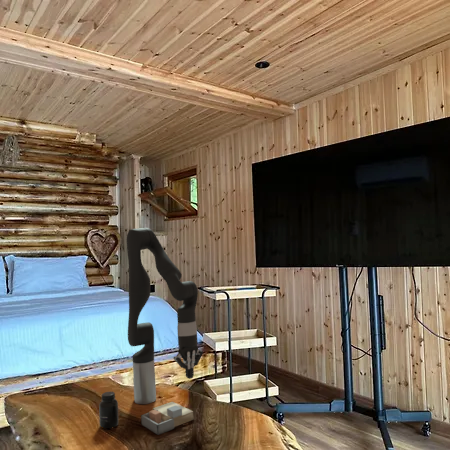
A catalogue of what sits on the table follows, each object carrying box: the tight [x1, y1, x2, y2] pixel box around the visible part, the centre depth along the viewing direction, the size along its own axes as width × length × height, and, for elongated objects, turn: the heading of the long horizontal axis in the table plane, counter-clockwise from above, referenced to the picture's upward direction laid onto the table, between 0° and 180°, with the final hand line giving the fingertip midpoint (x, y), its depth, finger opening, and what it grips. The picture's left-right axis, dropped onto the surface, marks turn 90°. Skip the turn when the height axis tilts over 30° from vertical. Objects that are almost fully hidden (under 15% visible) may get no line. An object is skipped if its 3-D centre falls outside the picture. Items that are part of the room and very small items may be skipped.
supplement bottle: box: [98, 391, 119, 429], centre depth 157 cm, size 7×7×12 cm
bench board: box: [152, 401, 194, 428], centre depth 161 cm, size 14×9×3 cm, turn 40°
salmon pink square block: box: [148, 409, 161, 424], centre depth 156 cm, size 4×4×2 cm
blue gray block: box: [167, 406, 182, 418], centre depth 156 cm, size 4×4×2 cm
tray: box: [140, 410, 175, 435], centre depth 154 cm, size 12×7×4 cm, turn 40°
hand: (189, 377), depth 161 cm, fingers closed
